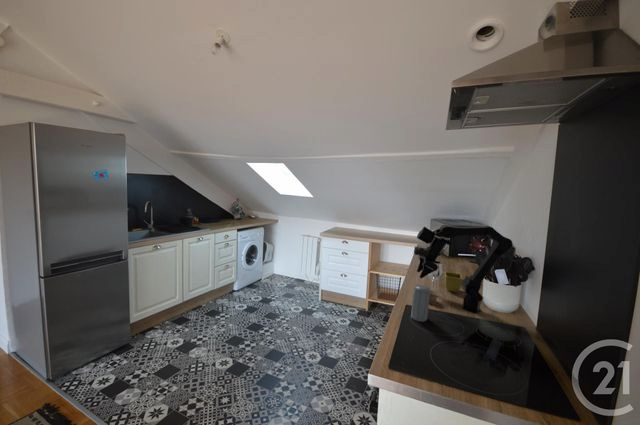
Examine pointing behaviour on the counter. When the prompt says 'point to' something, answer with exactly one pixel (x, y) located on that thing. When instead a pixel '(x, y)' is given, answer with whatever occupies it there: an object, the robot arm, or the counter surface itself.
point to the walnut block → (432, 297)
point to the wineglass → (436, 274)
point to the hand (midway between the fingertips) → (419, 274)
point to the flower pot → (453, 281)
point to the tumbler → (420, 303)
